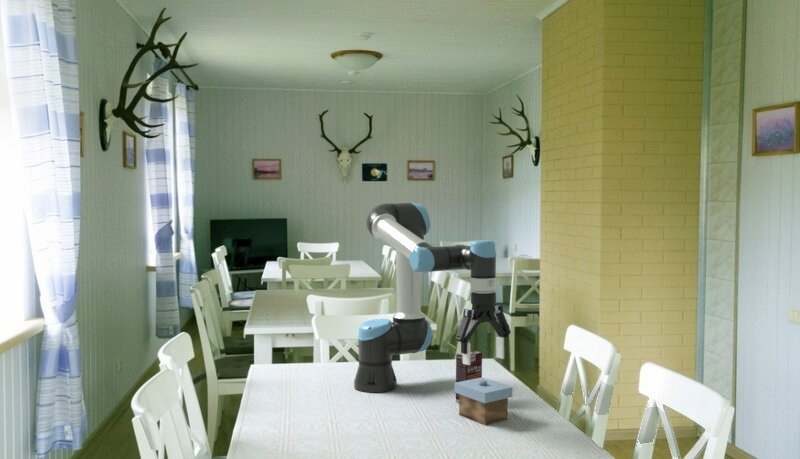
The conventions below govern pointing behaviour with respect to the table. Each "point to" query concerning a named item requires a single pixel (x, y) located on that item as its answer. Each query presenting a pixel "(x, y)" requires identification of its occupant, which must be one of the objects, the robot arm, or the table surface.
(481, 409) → the box
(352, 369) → the table surface
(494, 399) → the lid
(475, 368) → the supplement box
